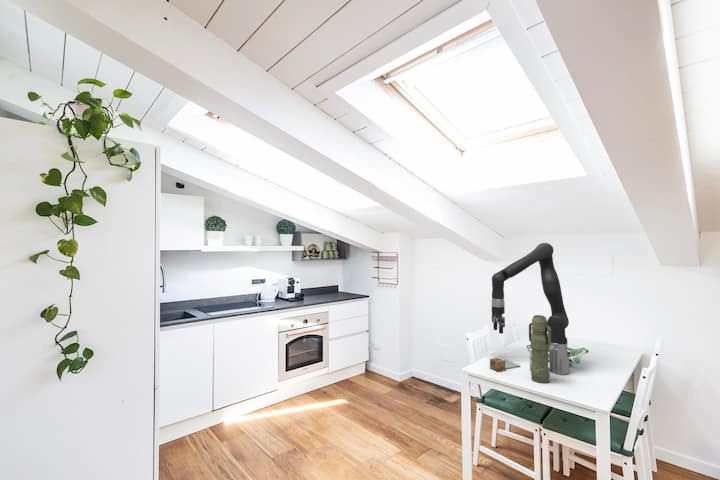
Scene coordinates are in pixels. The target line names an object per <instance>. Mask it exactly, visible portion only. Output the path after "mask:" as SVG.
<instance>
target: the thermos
mask: <svg viewBox="0 0 720 480" xmlns="http://www.w3.org/2000/svg"><path fill="white" fill-rule="evenodd" d="M528 341H529V342H530V349H531V348H532V366H531V371H530V375H531V381H533V382H535V383H538V384H549V383H550V370H549V346H550V345H551V328H550V327H549V326H548V319H547V317H546V316H544V315H542V314H541V315H540V314H535V315H533V317H532V319H531V322H530V323H529V324H528Z"/></svg>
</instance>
